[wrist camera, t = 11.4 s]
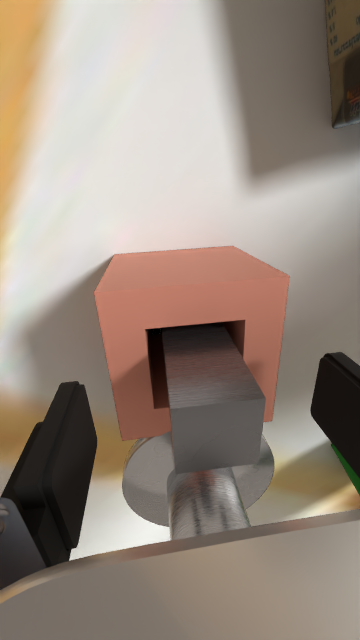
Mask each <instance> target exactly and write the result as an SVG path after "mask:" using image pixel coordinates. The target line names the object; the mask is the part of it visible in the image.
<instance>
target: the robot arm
mask: <svg viewBox="0 0 360 640" xmlns="http://www.w3.org/2000/svg"><path fill="white" fill-rule="evenodd" d="M311 415H312V417H313V419H314V420H315V421H316V423H317V424H318V425H319V427H320V428H321V429H322V430H323V432H324V433H325V434H326V436H327V437H328V438H329V440H330V441H331V442H332V443H333V445H334V446H335V447H336V449H337V450H338V451H339V453H340V454H341V455H342V456H343V458H344V459H345V460H346V462H347V463H348V464H349V466H350V467H351V468H352V470H353V471H354V472H355V473H356V475H357V476H358V477H359V479H360V366H359V365H358V364H356V363H355V362H354V361H353V360H351V359H350V358H349V357H347V356H346V355H345V354H343V353H342V352H336V353H327V354H325V355H324V357H323V358H321V359H320V363H319V368H318V373H317V378H316V384H315V389H314V394H313V399H312V404H311ZM96 449H97V436H96V431H95V427H94V423H93V419H92V415H91V411H90V407H89V402H88V398H87V394H86V390H85V386H84V385H79V382H78V381H74V382H65V383H61V384H60V386H59V388H58V390H57V393H56V395H55V397H54V399H53V401H52V404H51V406H50V408H49V410H48V412H47V415H46V417H45V419H44V421H43V422H39V423H37V424H36V426H35V427H34V429H33V431H32V433H31V435H30V437H29V439H28V441H27V443H26V446H25V448H24V450H23V452H22V454H21V456H20V458H19V460H18V462H17V464H16V466H15V468H14V470H13V472H12V474H11V477H10V479H9V481H8V483H7V485H6V487H5V489H4V491H3V493H2V495H1V497H0V640H360V509H357V510H351V511H345V512H338V513H332V514H326V515H320V516H314V517H308V518H302V519H296V520H290V521H283V522H277V523H271V524H265V525H259V526H253V527H247V528H241V529H235V530H230V531H224V532H218V533H212V534H206V535H201V536H195V537H189V538H183V539H177V540H171V541H166V542H160V543H154V544H148V545H143V546H138V547H133V548H128V549H122V550H117V551H112V552H107V553H101V554H96V555H92V556H88V557H83V558H79V559H75V560H71V561H69V558H70V553H71V549H73V548H76V547H77V545H78V541H79V537H80V531H81V526H82V521H83V516H84V511H85V506H86V500H87V495H88V490H89V485H90V480H91V474H92V469H93V464H94V459H95V454H96Z"/></svg>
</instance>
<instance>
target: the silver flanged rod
mask: <svg viewBox="0 0 360 640" xmlns="http://www.w3.org/2000/svg"><path fill="white" fill-rule="evenodd" d="M171 436H172V435H171V432H170V431H169V432H167V433H165V434H163V435H161V436H154V437H147V438H139V440H138V441H137V442H136V443H135V444H134V445H133V447H132V448H131V450H130V451H129V453H128V455H127V457H126V460H125V463H124V470H123V482H122V488H123V494H124V497H125V500H126V502H127V503H128V505H129V506H130V508H131V509H132V510H133V511H134V512H135V513H136V514H138V515H139V516H141V517H142V518H144V519H146V520H148V521H150V522H152V523H155V524H158V525H162V526H167V527H170V540H177V539H183V538H189V537H195V536H201V535H206V534H212V533H218V532H224V531H230V530H235V529H241V528H247V527H251V525H250V522H249V519H248V516H247V513H246V510H245V509H247V508H248V507H250V506H251V505H252V504H253V503H254V502H256V501H257V500H258V499H259V498H260V497H261V496H262V494H263V493H264V492H265V490H266V489H267V487H268V485H269V484H270V482H271V479H272V477H273V472H274V458H273V455H272V452H271V449H270V447H269V445H268V443H267V441H266V439H265V438H264V436H263V434H262V437H261V446H260V454H259V463H257V464H250V465H242V466H234V467H227V468H219V469H212V470H204V471H196V472H189V473H181V474H175V465H174V458H173V457H174V454H173V447H172V445H173V444H171V441H172V440H171ZM172 455H173V456H172Z"/></svg>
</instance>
